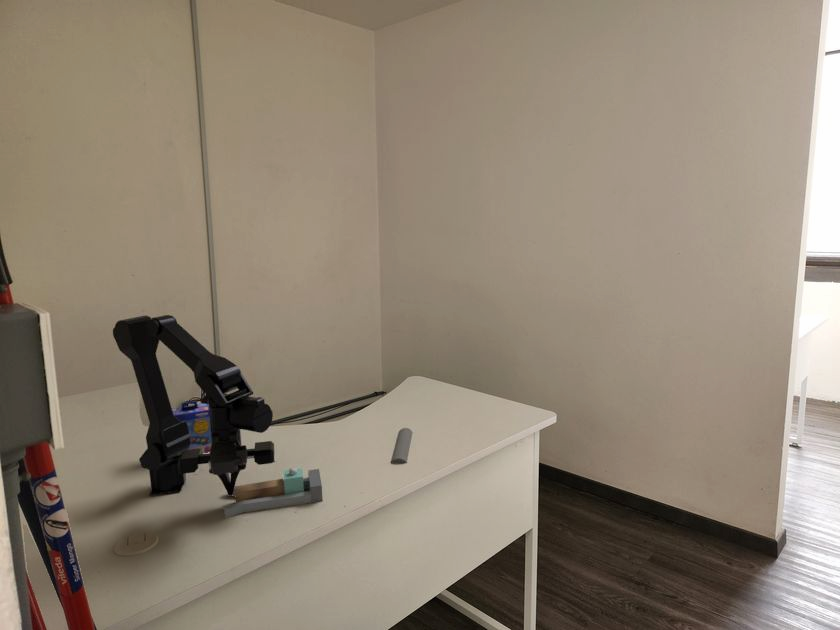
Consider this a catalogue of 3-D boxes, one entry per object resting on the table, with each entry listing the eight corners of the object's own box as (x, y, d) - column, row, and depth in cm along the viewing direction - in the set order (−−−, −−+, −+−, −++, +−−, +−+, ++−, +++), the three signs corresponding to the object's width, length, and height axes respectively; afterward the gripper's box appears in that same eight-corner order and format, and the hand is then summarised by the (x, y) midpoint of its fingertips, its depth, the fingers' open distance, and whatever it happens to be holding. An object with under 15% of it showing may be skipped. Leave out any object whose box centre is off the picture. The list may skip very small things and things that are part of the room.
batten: (236, 508, 113) (235, 493, 113) (236, 501, 116) (235, 486, 115) (285, 499, 116) (284, 484, 116) (284, 493, 119) (283, 478, 119)
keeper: (285, 500, 115) (283, 474, 114) (285, 490, 119) (283, 466, 118) (304, 497, 116) (302, 472, 115) (303, 488, 120) (301, 464, 119)
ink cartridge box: (173, 461, 136) (167, 406, 133) (172, 453, 141) (166, 400, 138) (215, 453, 140) (210, 399, 138) (212, 445, 145) (207, 393, 143)
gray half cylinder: (413, 433, 152) (413, 427, 151) (407, 465, 132) (407, 458, 132) (398, 433, 152) (398, 427, 152) (390, 465, 133) (389, 458, 132)
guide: (223, 518, 110) (222, 502, 109) (228, 493, 119) (226, 478, 119) (323, 503, 114) (322, 488, 114) (319, 480, 124) (318, 466, 124)
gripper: (168, 445, 102) (176, 521, 104) (271, 434, 106) (276, 507, 109) (179, 424, 112) (186, 493, 115) (272, 414, 117) (276, 482, 120)
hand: (230, 494), depth 114 cm, fingers closed
